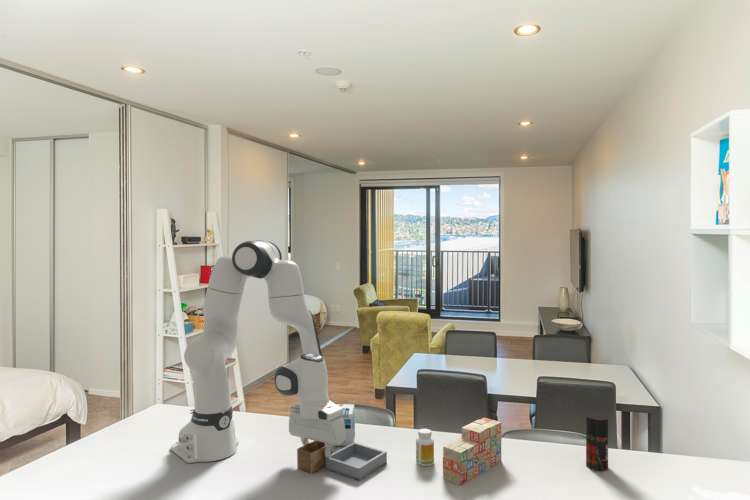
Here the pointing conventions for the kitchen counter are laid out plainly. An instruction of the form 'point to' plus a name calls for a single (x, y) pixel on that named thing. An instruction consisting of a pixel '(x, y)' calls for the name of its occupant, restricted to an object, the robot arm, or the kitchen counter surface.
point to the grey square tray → (356, 461)
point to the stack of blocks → (472, 451)
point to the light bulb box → (348, 423)
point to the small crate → (312, 457)
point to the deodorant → (597, 442)
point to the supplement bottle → (424, 448)
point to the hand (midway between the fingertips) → (317, 454)
